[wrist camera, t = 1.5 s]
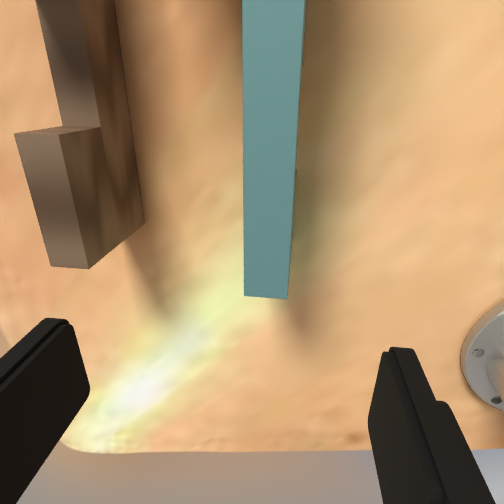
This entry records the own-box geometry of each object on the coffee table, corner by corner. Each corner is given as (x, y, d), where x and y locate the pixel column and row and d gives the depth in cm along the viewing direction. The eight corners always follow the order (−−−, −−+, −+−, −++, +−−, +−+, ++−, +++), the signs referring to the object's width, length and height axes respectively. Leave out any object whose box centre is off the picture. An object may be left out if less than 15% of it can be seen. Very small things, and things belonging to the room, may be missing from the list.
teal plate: (265, -50, 19) (241, -133, 12) (309, -52, 19) (312, -138, 12) (260, 241, 27) (243, 295, 20) (291, 243, 27) (287, 299, 20)
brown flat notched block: (49, -157, 19) (-111, -311, 12) (91, -161, 18) (-45, -321, 11) (115, 221, 28) (50, 266, 21) (144, 223, 28) (88, 269, 21)
